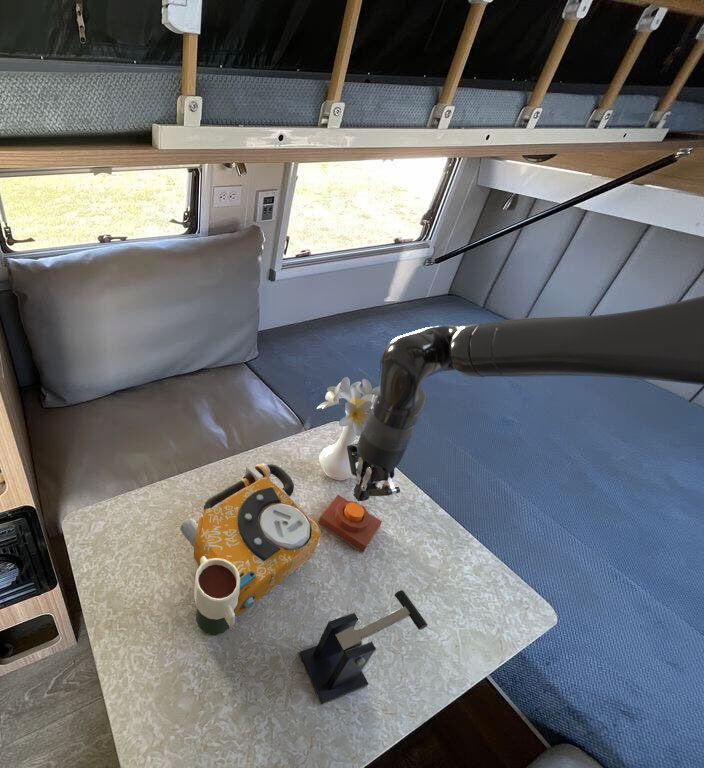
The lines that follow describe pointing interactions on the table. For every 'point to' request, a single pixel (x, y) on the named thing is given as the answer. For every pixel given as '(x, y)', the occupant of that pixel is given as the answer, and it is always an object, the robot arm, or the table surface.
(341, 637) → the lever
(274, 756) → the table surface
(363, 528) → the block
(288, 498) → the device
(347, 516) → the button
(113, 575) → the table surface
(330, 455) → the flower vase
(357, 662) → the bracket
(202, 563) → the character mug
